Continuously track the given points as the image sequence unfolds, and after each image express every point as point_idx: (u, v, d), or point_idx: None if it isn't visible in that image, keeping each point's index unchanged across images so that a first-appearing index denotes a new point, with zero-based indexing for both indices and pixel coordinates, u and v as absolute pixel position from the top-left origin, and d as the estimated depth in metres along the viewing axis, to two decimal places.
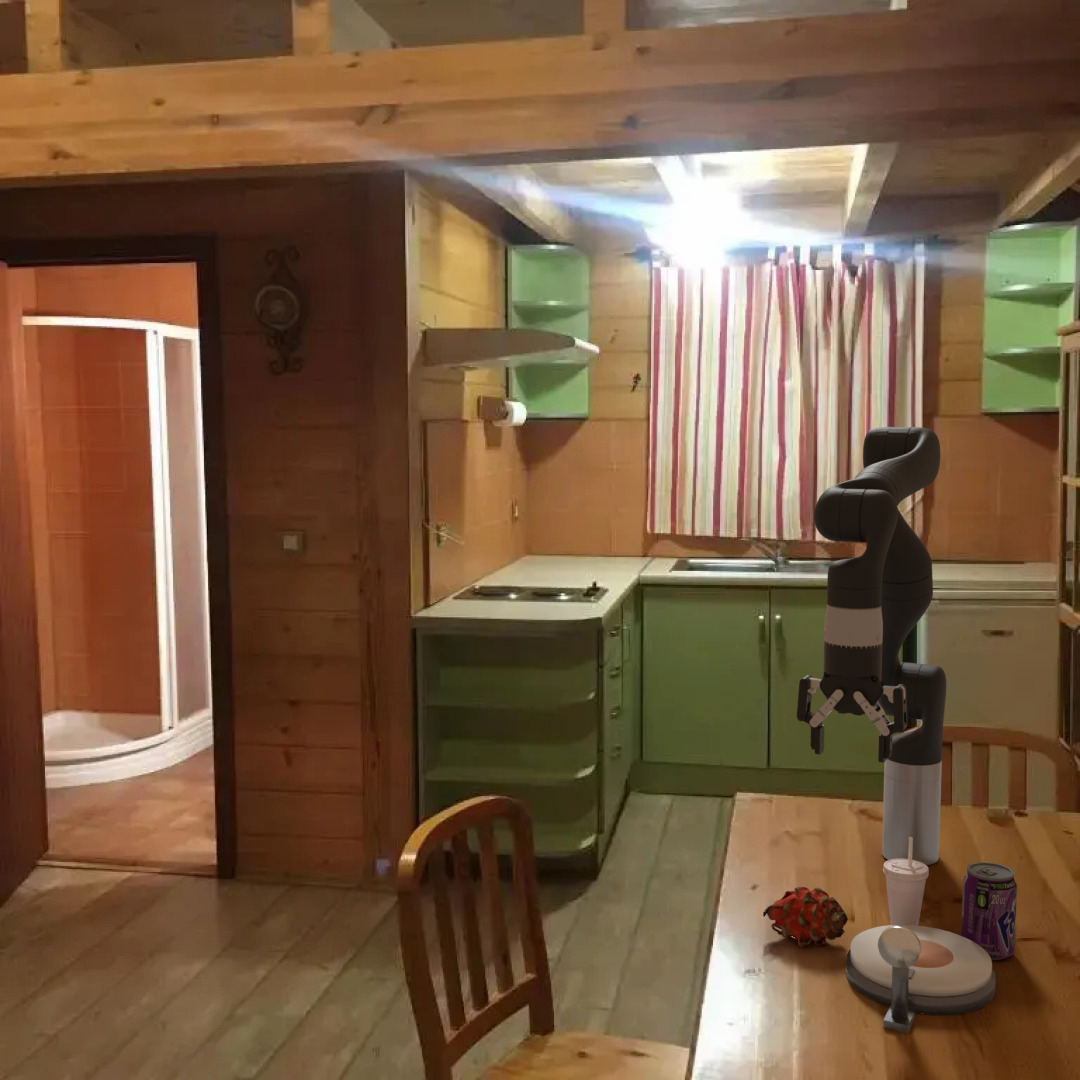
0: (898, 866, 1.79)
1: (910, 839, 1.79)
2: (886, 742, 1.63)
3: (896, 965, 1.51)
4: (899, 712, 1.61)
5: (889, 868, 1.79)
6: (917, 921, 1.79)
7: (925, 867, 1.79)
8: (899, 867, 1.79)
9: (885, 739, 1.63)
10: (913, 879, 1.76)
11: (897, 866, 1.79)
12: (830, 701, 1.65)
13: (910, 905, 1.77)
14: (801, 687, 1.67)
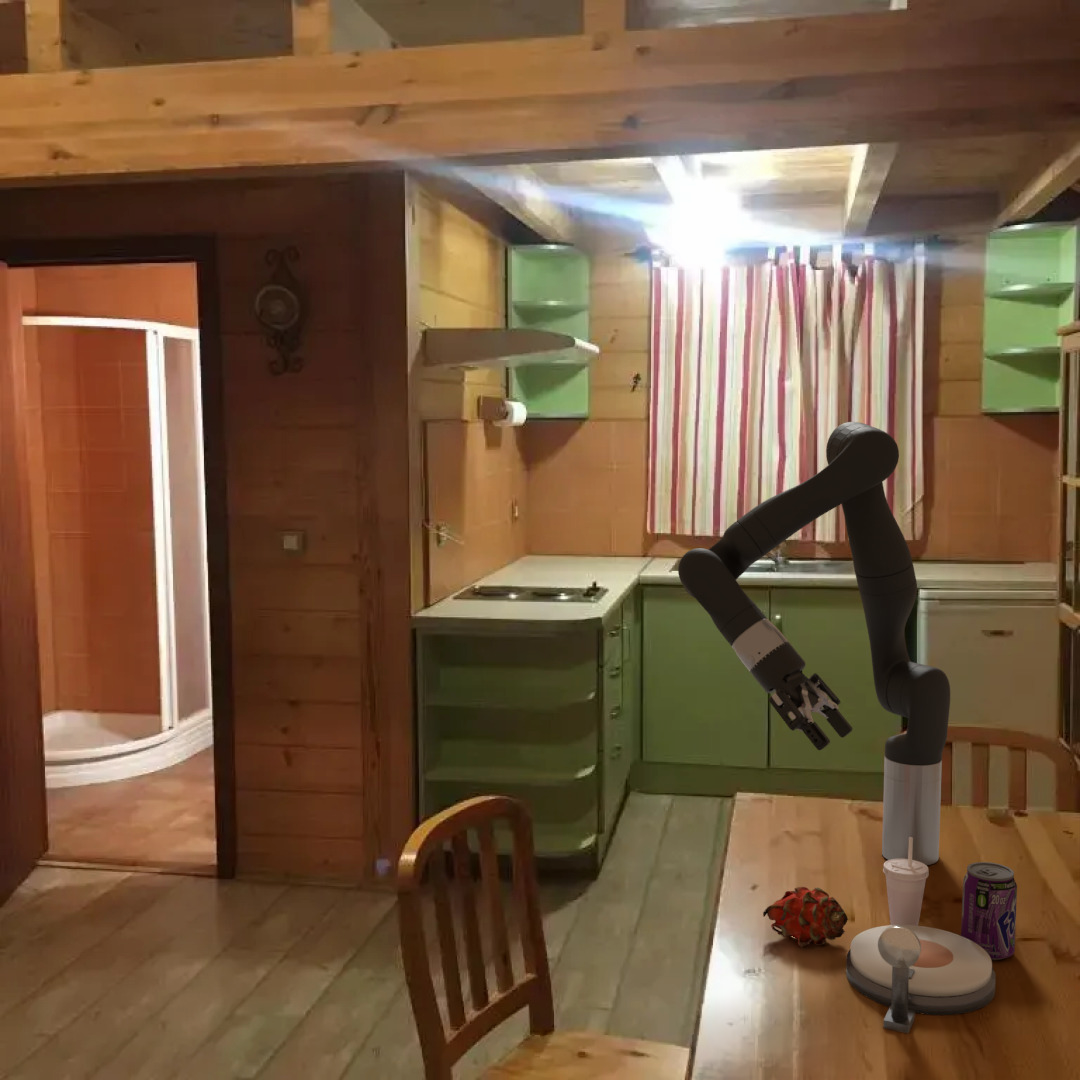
0: (898, 866, 1.79)
1: (910, 839, 1.79)
2: None
3: (896, 965, 1.51)
4: None
5: (889, 868, 1.79)
6: (917, 921, 1.79)
7: (925, 867, 1.79)
8: (899, 867, 1.79)
9: None
10: (913, 879, 1.76)
11: (897, 866, 1.79)
12: None
13: (910, 905, 1.77)
14: None
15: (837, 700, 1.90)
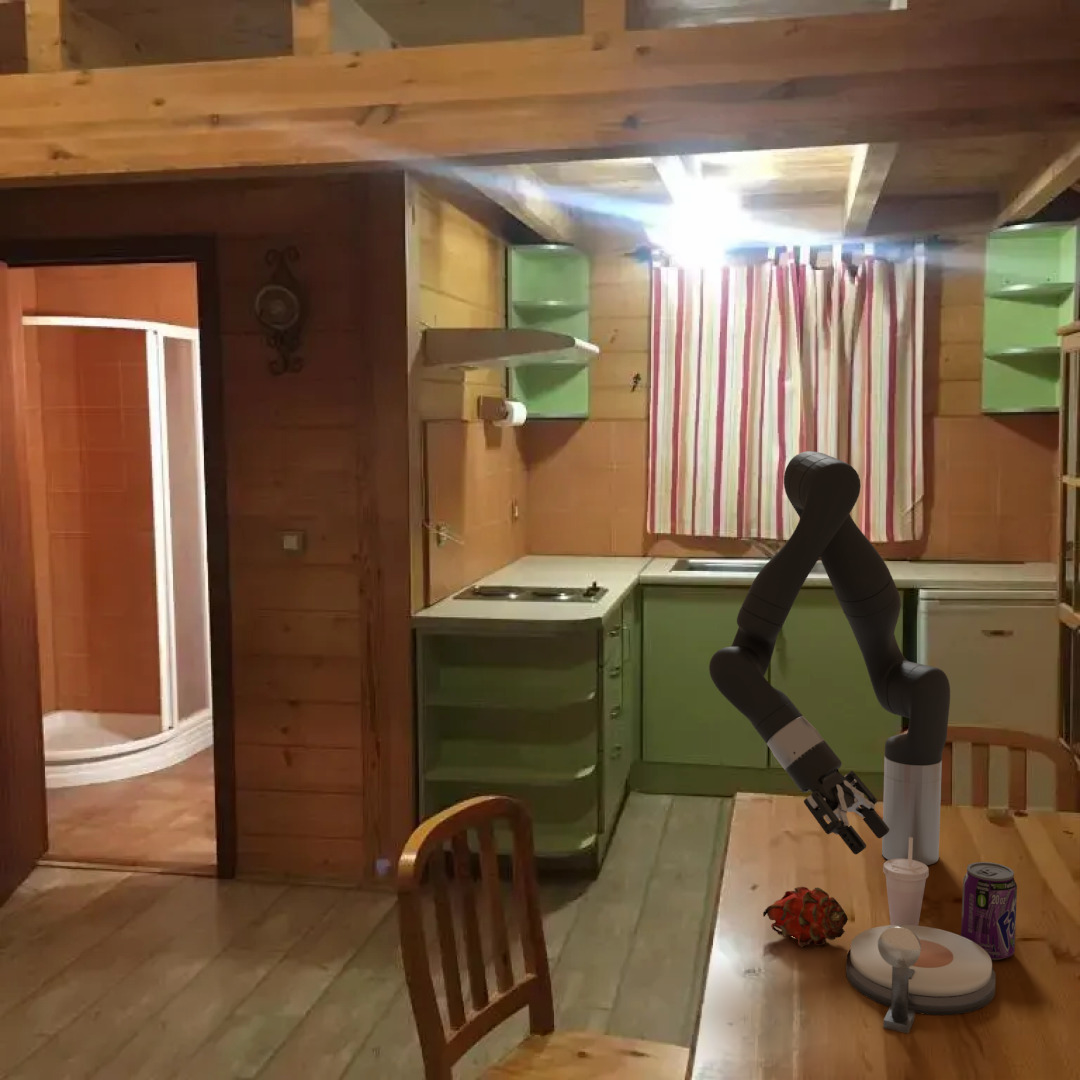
0: (898, 866, 1.79)
1: (910, 839, 1.79)
2: None
3: (896, 965, 1.51)
4: None
5: (889, 868, 1.79)
6: (917, 921, 1.79)
7: (925, 867, 1.79)
8: (899, 867, 1.79)
9: None
10: (913, 879, 1.76)
11: (897, 866, 1.79)
12: None
13: (910, 905, 1.77)
14: None
15: (874, 799, 1.88)
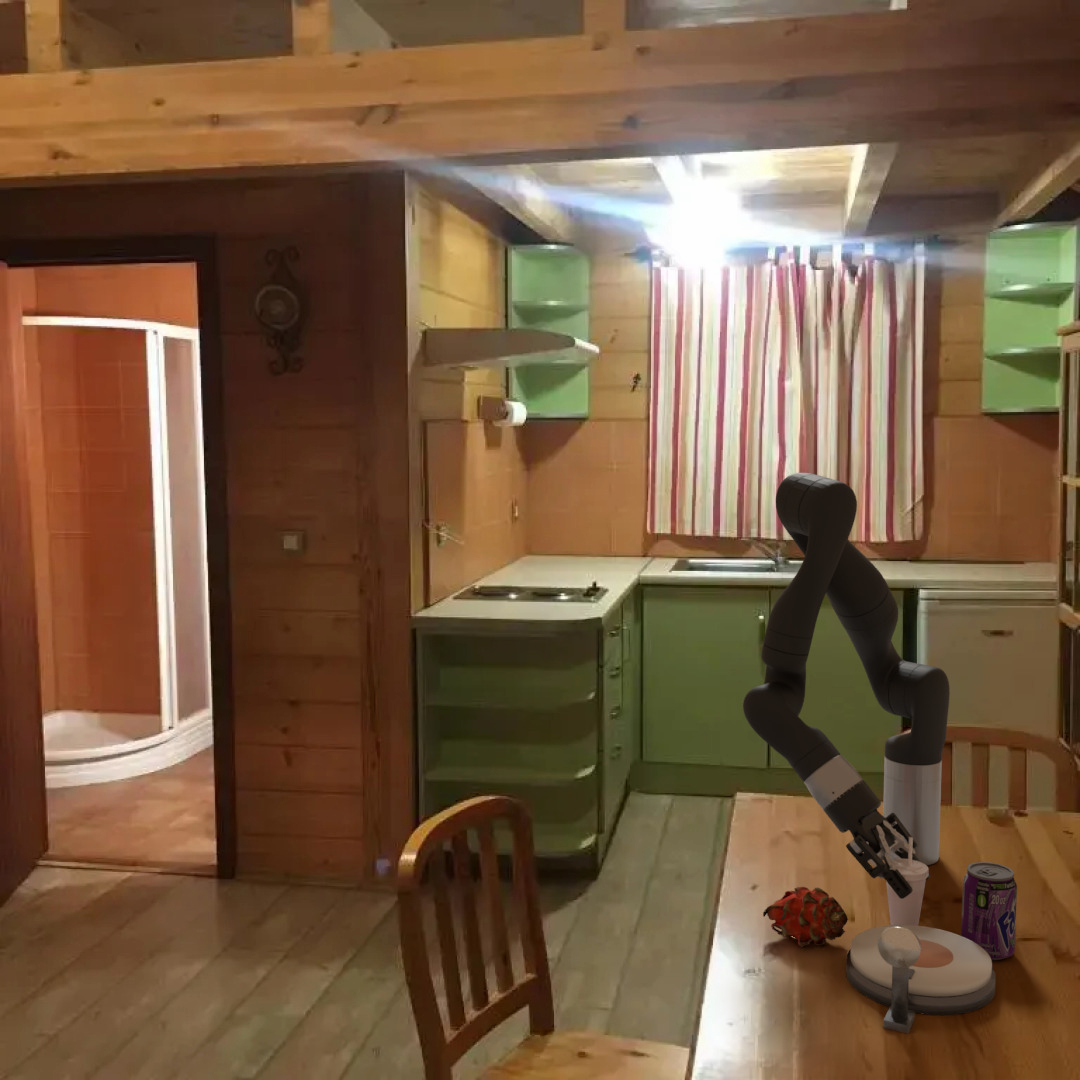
0: (898, 866, 1.79)
1: (910, 839, 1.78)
2: None
3: (896, 965, 1.51)
4: None
5: None
6: (917, 921, 1.79)
7: (925, 867, 1.79)
8: (899, 867, 1.79)
9: None
10: (913, 879, 1.76)
11: (897, 866, 1.79)
12: None
13: (910, 905, 1.77)
14: None
15: (913, 843, 1.84)
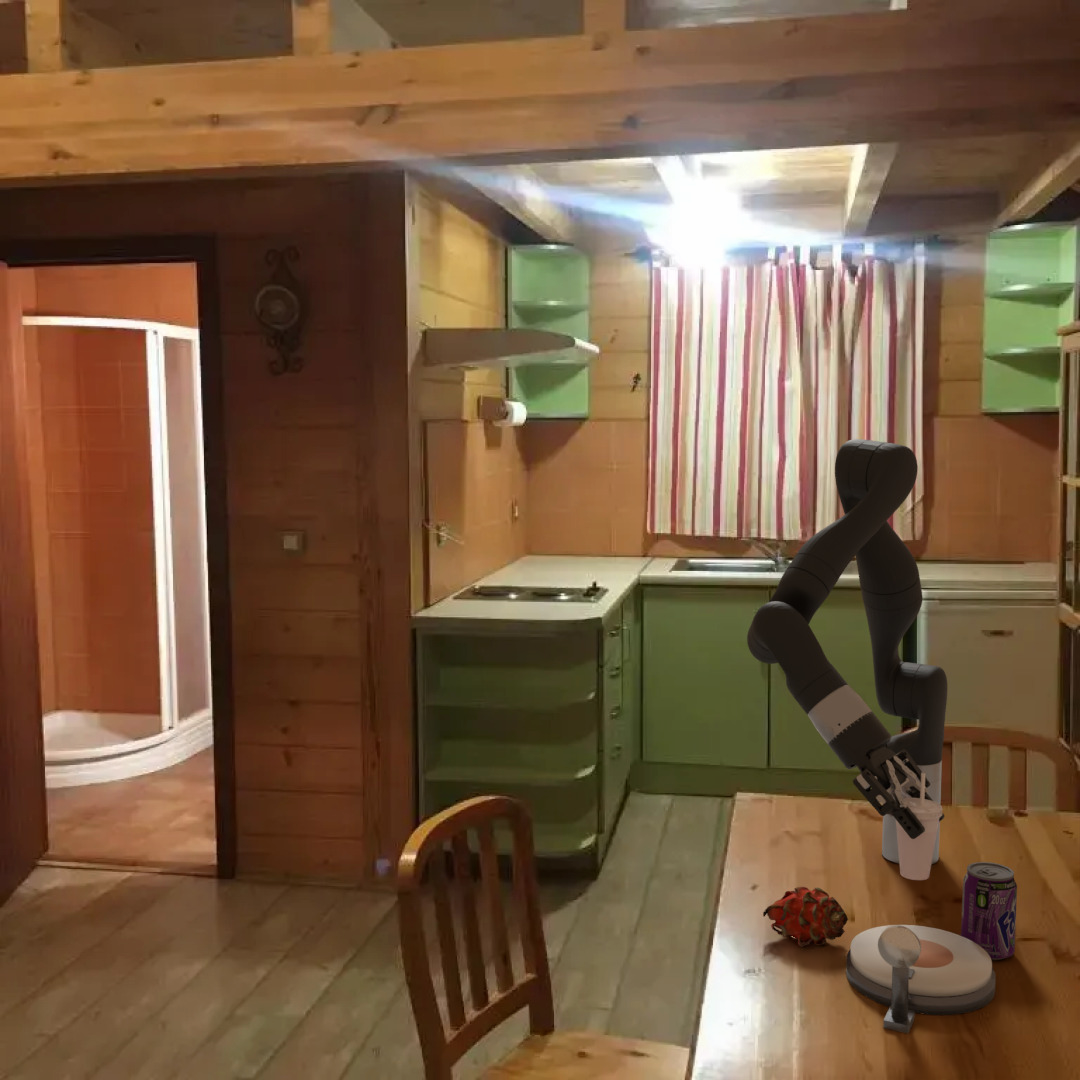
0: (909, 804, 1.64)
1: (922, 775, 1.63)
2: None
3: (896, 965, 1.51)
4: None
5: None
6: (929, 865, 1.63)
7: (938, 806, 1.64)
8: (910, 806, 1.63)
9: None
10: (925, 818, 1.61)
11: (908, 804, 1.64)
12: None
13: (922, 847, 1.62)
14: None
15: (926, 782, 1.69)
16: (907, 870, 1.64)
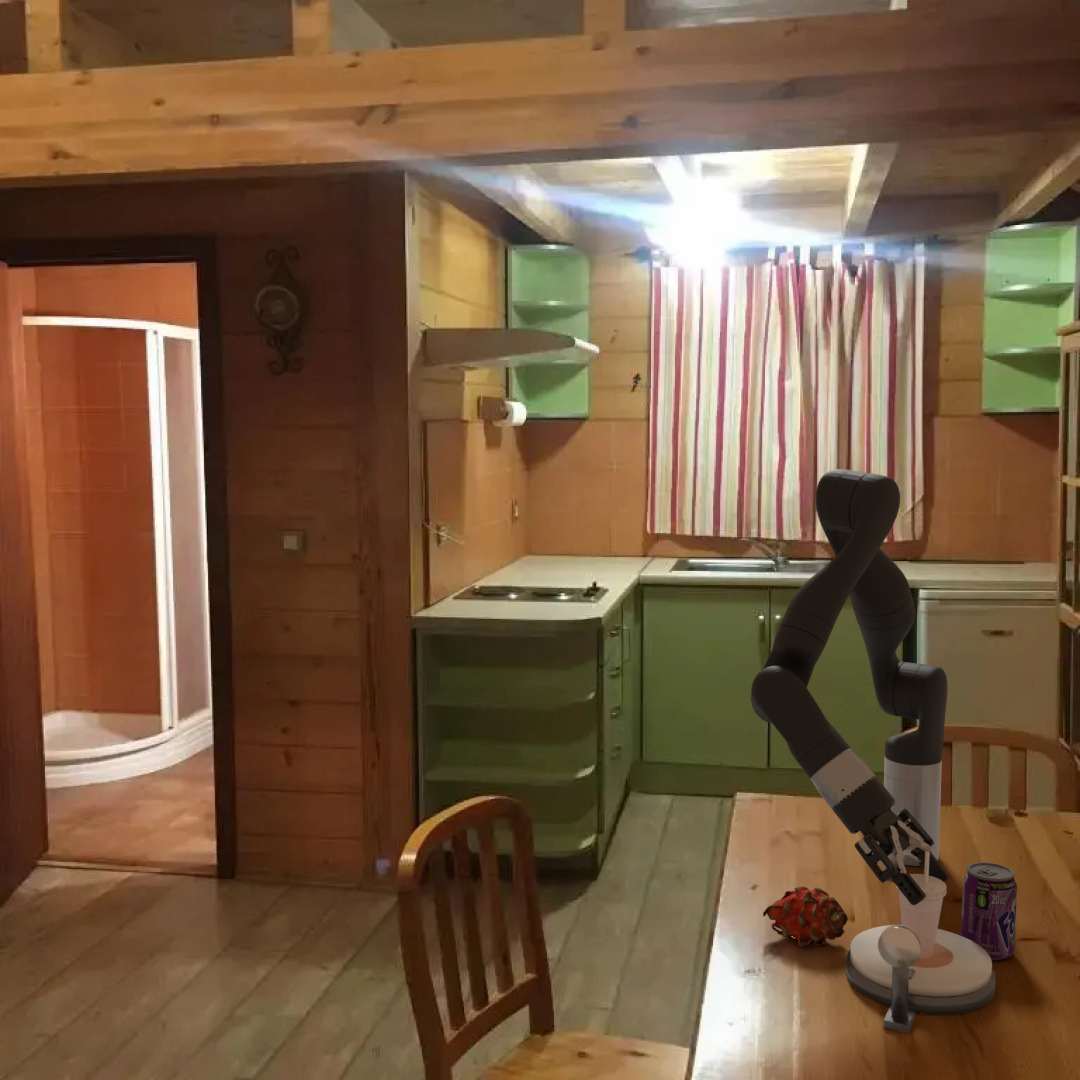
0: None
1: (927, 853, 1.63)
2: None
3: (896, 965, 1.51)
4: None
5: None
6: (933, 943, 1.63)
7: (942, 884, 1.63)
8: None
9: None
10: (930, 897, 1.60)
11: None
12: None
13: (926, 926, 1.62)
14: None
15: (930, 841, 1.69)
16: None
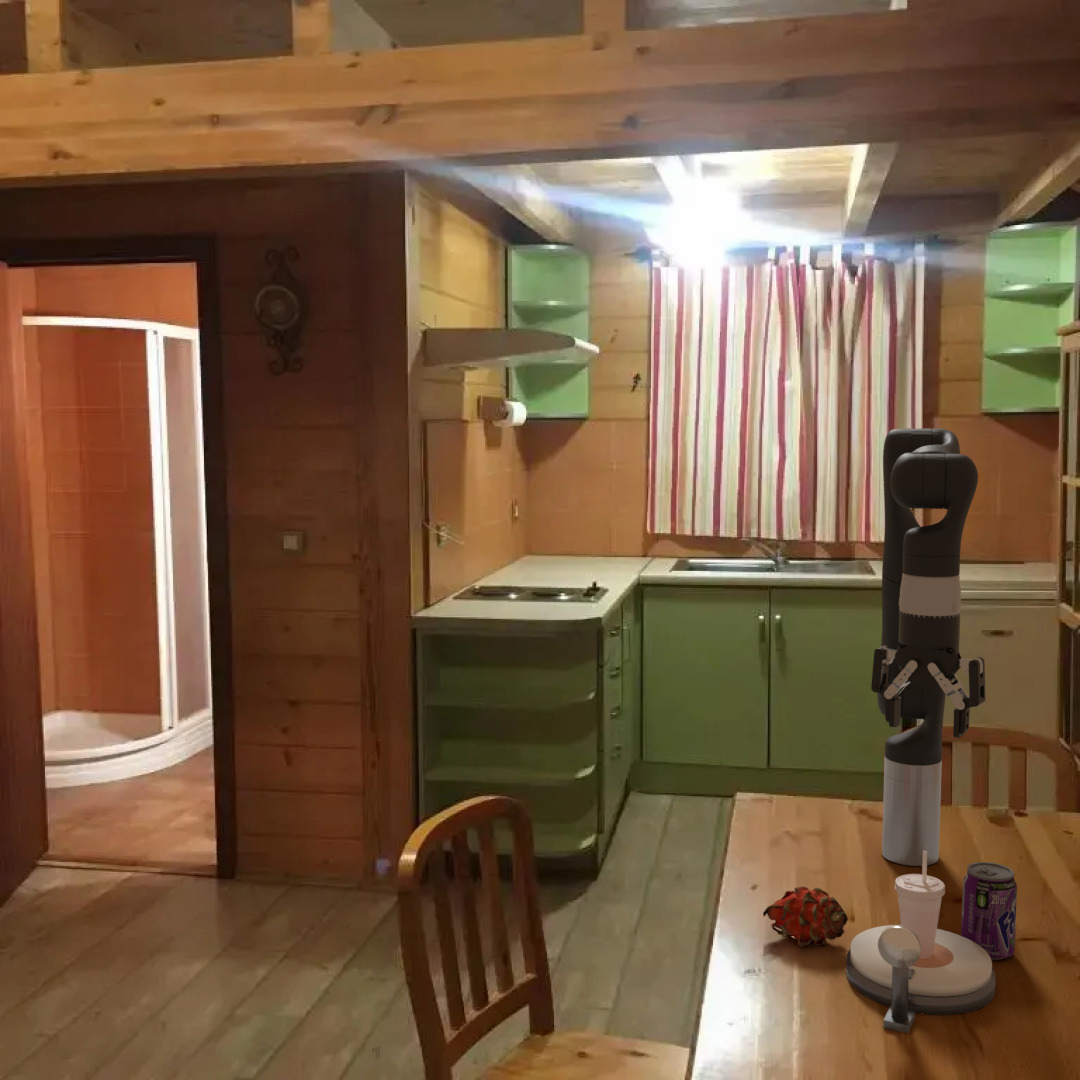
0: (911, 883, 1.63)
1: (924, 853, 1.63)
2: (962, 716, 1.57)
3: (896, 965, 1.51)
4: (975, 685, 1.55)
5: (902, 885, 1.63)
6: (933, 943, 1.63)
7: (941, 883, 1.63)
8: (912, 884, 1.63)
9: (960, 713, 1.57)
10: (928, 897, 1.60)
11: (910, 883, 1.63)
12: (904, 672, 1.60)
13: (925, 926, 1.62)
14: (876, 657, 1.63)
15: None
16: None
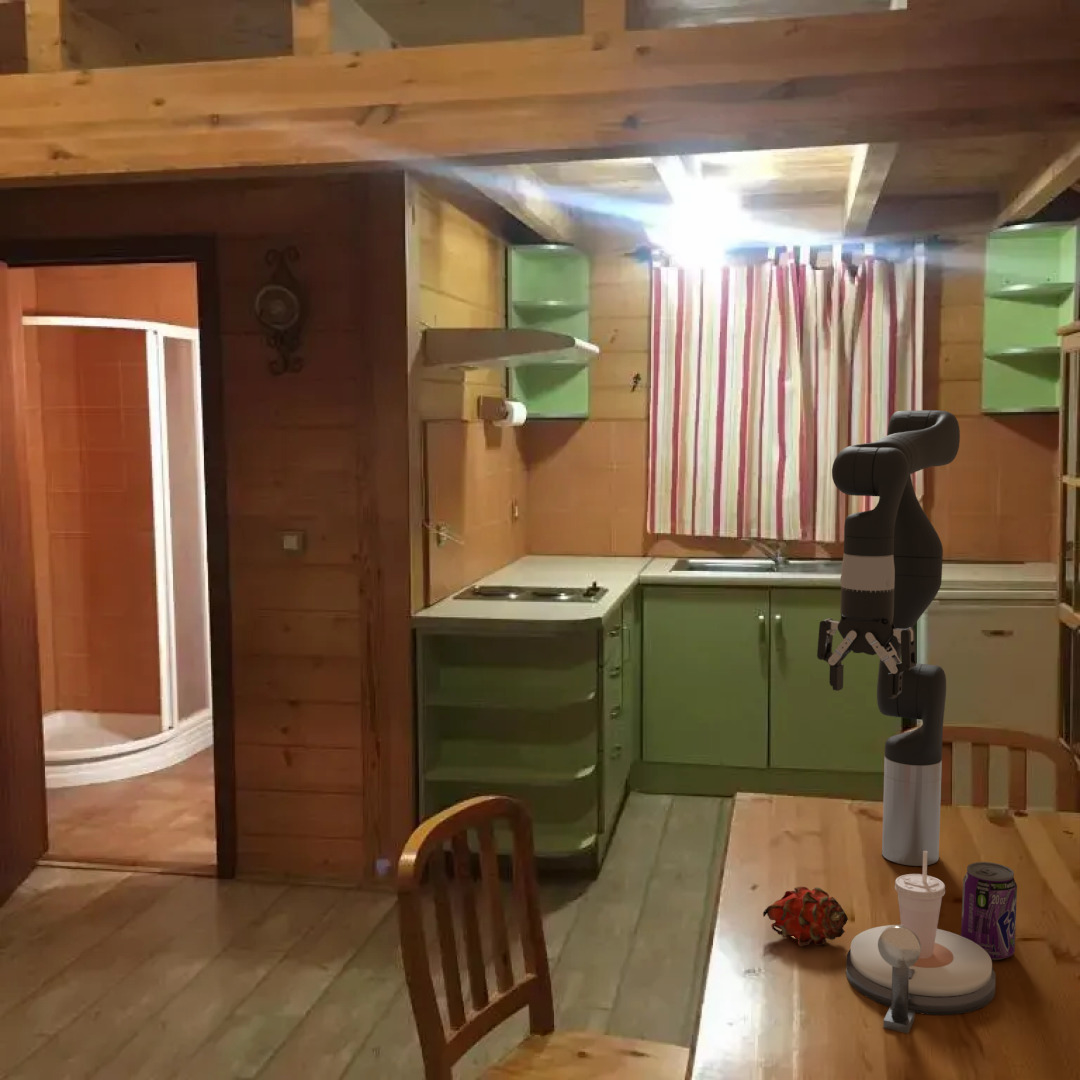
0: (912, 883, 1.63)
1: (924, 853, 1.62)
2: (895, 680, 1.78)
3: (896, 965, 1.51)
4: (906, 652, 1.76)
5: (902, 885, 1.63)
6: (933, 943, 1.63)
7: (941, 883, 1.63)
8: (913, 884, 1.63)
9: (894, 677, 1.78)
10: (929, 897, 1.60)
11: (910, 883, 1.63)
12: (845, 641, 1.81)
13: (926, 926, 1.62)
14: (821, 628, 1.84)
15: None
16: None
